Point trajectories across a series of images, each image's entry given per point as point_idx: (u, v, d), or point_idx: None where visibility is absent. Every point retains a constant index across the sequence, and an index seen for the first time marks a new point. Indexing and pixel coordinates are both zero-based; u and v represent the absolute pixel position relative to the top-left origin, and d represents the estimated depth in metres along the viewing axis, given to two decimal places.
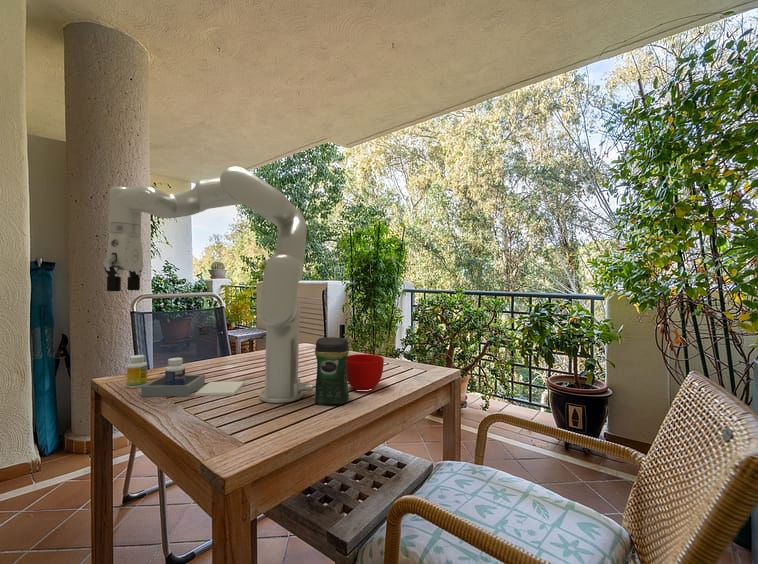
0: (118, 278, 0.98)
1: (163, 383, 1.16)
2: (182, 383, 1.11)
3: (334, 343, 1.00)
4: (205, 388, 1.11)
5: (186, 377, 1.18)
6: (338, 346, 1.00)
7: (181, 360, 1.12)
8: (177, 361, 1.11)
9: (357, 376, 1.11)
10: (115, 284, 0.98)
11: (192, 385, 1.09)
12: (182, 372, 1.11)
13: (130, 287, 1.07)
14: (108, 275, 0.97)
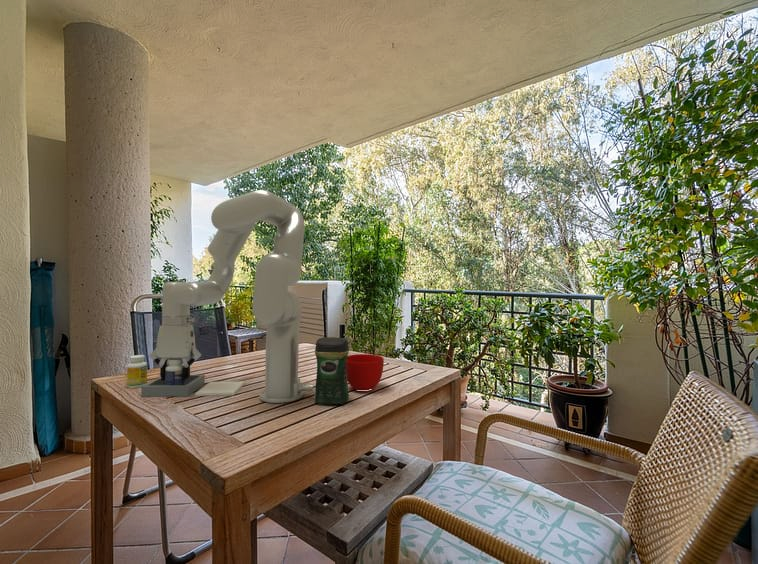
0: None
1: (163, 383, 1.16)
2: (182, 383, 1.11)
3: (334, 343, 1.00)
4: (205, 388, 1.11)
5: None
6: (337, 346, 1.00)
7: (181, 360, 1.12)
8: (177, 361, 1.11)
9: (357, 376, 1.11)
10: None
11: (192, 385, 1.09)
12: None
13: None
14: (188, 366, 1.12)
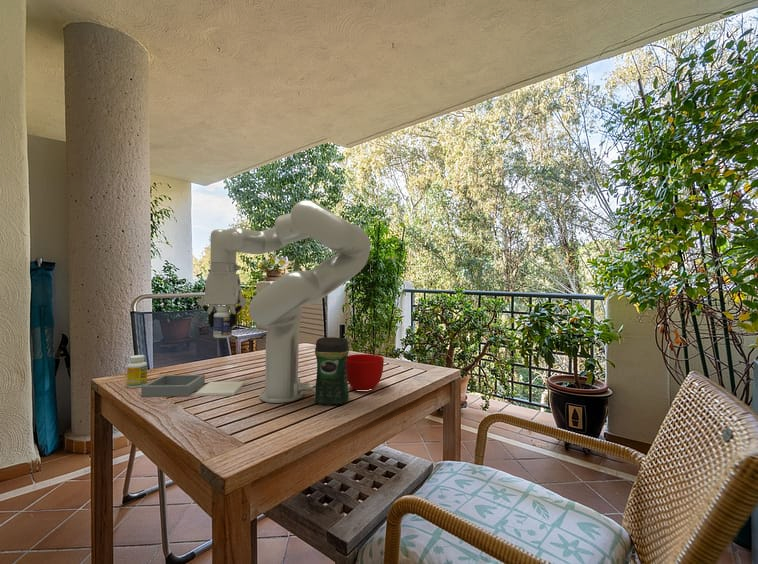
0: None
1: (163, 383, 1.16)
2: (230, 330, 1.13)
3: (334, 343, 1.00)
4: (205, 388, 1.11)
5: (186, 377, 1.18)
6: (337, 346, 1.00)
7: (228, 307, 1.13)
8: (225, 308, 1.12)
9: (357, 376, 1.11)
10: None
11: (192, 385, 1.09)
12: (229, 318, 1.12)
13: None
14: (236, 313, 1.13)
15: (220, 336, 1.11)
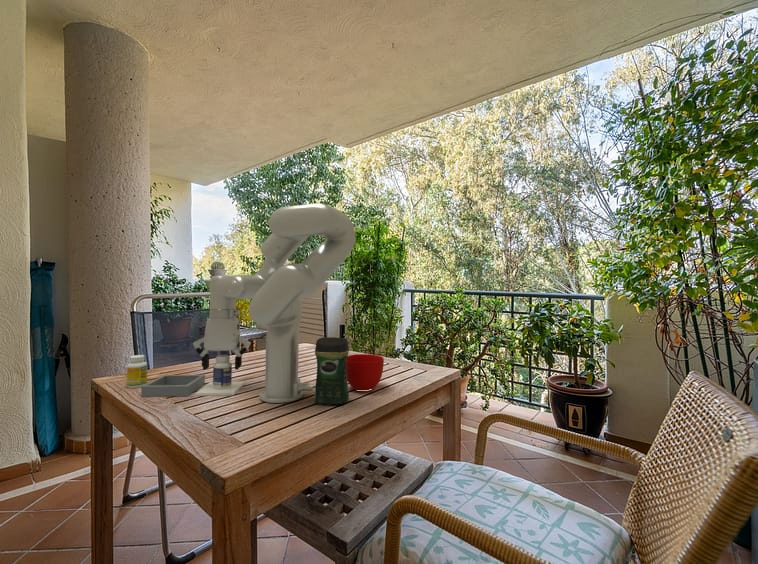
0: None
1: (163, 383, 1.16)
2: (230, 380, 1.13)
3: (334, 343, 1.00)
4: (205, 388, 1.11)
5: (186, 377, 1.18)
6: (337, 347, 1.00)
7: (228, 357, 1.13)
8: (225, 358, 1.12)
9: (357, 376, 1.11)
10: None
11: (192, 385, 1.09)
12: (229, 369, 1.12)
13: (206, 366, 1.12)
14: (240, 355, 1.13)
15: (220, 387, 1.11)
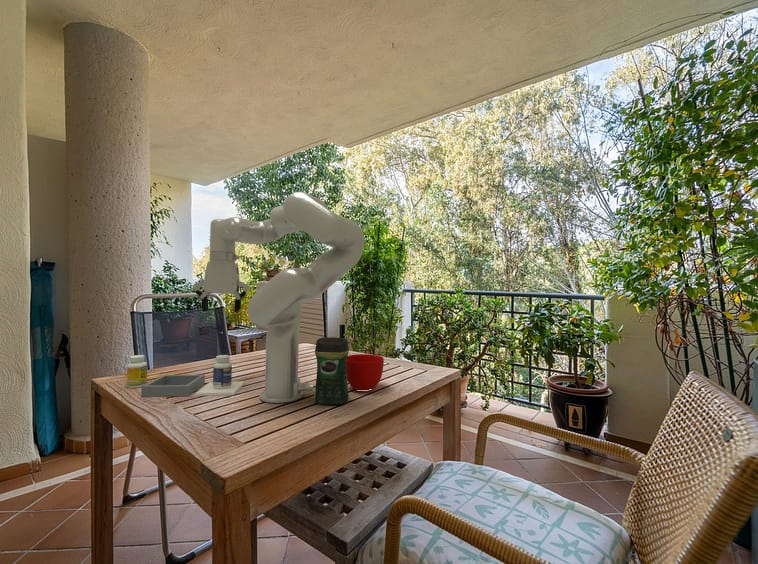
0: None
1: (163, 383, 1.16)
2: (230, 380, 1.13)
3: (334, 343, 1.00)
4: (205, 388, 1.11)
5: (186, 377, 1.18)
6: (337, 346, 1.00)
7: (228, 357, 1.13)
8: (225, 358, 1.12)
9: (357, 375, 1.11)
10: None
11: (192, 385, 1.09)
12: (229, 369, 1.12)
13: (206, 308, 1.14)
14: (240, 298, 1.15)
15: (220, 387, 1.11)
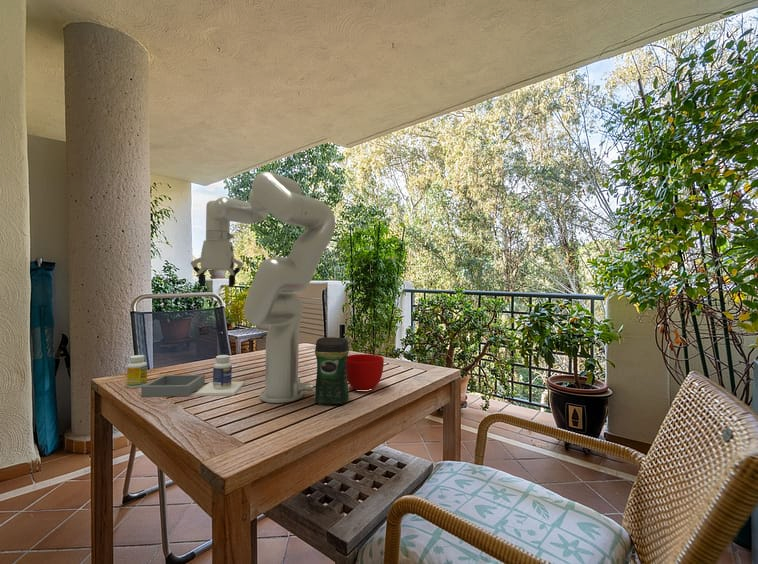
0: None
1: (163, 383, 1.16)
2: (229, 380, 1.13)
3: (334, 343, 1.00)
4: (205, 388, 1.11)
5: (186, 377, 1.18)
6: (337, 346, 1.00)
7: (228, 357, 1.13)
8: (225, 358, 1.12)
9: (357, 376, 1.11)
10: None
11: (192, 385, 1.09)
12: (229, 369, 1.12)
13: (202, 283, 1.24)
14: (234, 274, 1.24)
15: (220, 387, 1.11)
